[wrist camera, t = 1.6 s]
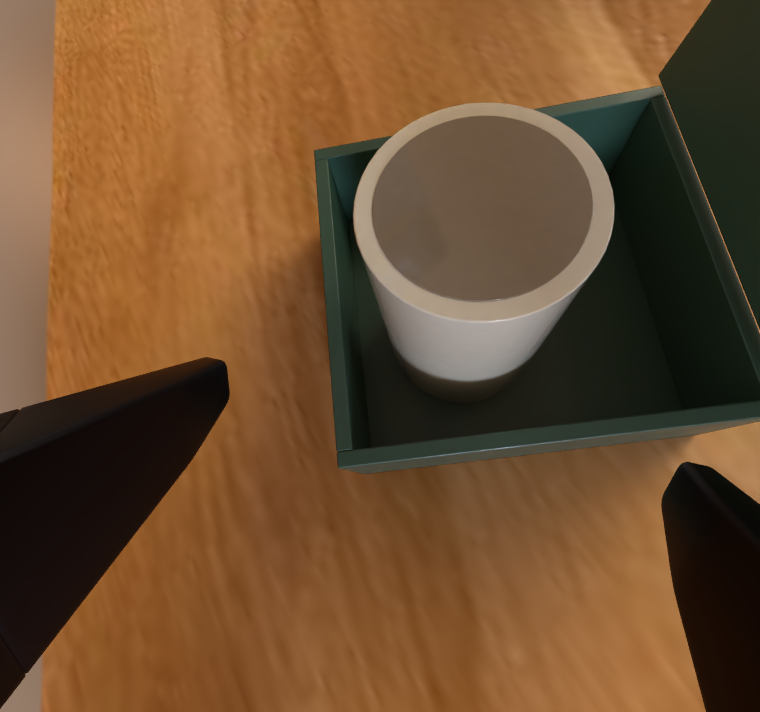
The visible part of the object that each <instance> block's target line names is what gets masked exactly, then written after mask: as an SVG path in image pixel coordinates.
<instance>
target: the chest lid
mask: <svg viewBox="0 0 760 712" xmlns="http://www.w3.org/2000/svg"><path fill="white" fill-rule="evenodd" d="M659 79H660V81H661V84H662V86H663V89H664V91H665V94H666V96H667V99H668V101H669V104H670V106H671V109H672V111H673V114H674V116H675V119H676V121H677V124H678V126H679V129H680V131H681V134H682V136H683V139H684V141H685V144H686V146H687V149H688V151H689V154H690V156H691V159H692V161H693V164H694V166H695V169H696V171H697V174H698V176H699V179H700V181H701V184H702V186H703V189H704V191H705V194H706V196H707V199H708V201H709V204H710V206H711V209H712V211H713V214H714V216H715V219H716V221H717V224H718V226H719V229H720V231H721V234H722V236H723V239H724V241H725V244H726V246H727V249H728V251H729V254H730V256H731V259H732V261H733V264H734V266H735V269H736V271H737V274H738V276H739V279H740V281H741V284H742V286H743V289H744V291H745V294H746V296H747V299H748V301H749V304H750V306H751V309H752V311H753V314H754V316H755V319H756V321H757V324H758V326H759V329H760V0H711V2H710V3H709V5H708V6H707V7H706V9H705V10H704V12H703V13H702V15H701V16H700V17H699V19H698V20H697V22H696V23H695V24H694V26H693V27H692V29H691V30H690V32H689V33H688V34H687V36H686V37H685V39H684V40H683V41H682V43H681V44H680V46H679V47H678V48H677V50H676V51H675V53H674V54H673V56H672V57H671V58H670V60H669V61H668V63H667V64H666V65H665V67H664V68H663V70H662V71H661V73H660V74H659Z"/></svg>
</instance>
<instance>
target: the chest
mask: <svg viewBox="0 0 760 712" xmlns="http://www.w3.org/2000/svg"><path fill="white" fill-rule="evenodd" d="M664 96H665V95H664V92H663V90H662V87H661V86H656V87H651V88H645V89H640V90H635V91H629V92H624V93H618V94H613V95H608V96H602V97H597V98H592V99H586V100H581V101H576V102H570V103H565V104H560V105H554V106H549V107H543V108H538V109H533V110H536V111H538V112H541V113H544V114H546V115H548V116H550V117H552V118H554V119H556V120H558V121H560V122H562V123H563V124H565V125H566V126H568V127H569V128H571V129H572V130H574V131H575V132H576V133H577V134H578V135H579V136H581V137H582V138H583V139H584V140H585V141H586V142H587V143H588V145H589V146H590V147H591V148H592V149H593V150H594V151H595V153H596V154H597V156H598V157H599V159H600V160H601V162H602V164H603V166H604V168H605V170H606V172H607V174H608V176H609V180H610V183H611V187H612V190H613V197H614V205H615V210H614V224H613V229H612V234H611V238H610V241H609V243H608V246H607V249H606V251H605V253H604V255H603V257H602V258H601V260H600V262H599V264H598V266H597V267H596V268H595V270H594V271H593V273H592V274H591V275H590V277H589V278H588V280H587V281H586V283H585V284H584V285H583V287H582V288H581V290H580V291H579V292H578V294H577V295H576V297H575V298H574V300H573V301H572V302H571V304H570V305H569V307H568V308H567V309H566V311H565V312H564V314H563V315H562V317H561V318H560V319H559V321H558V322H557V324H556V325H555V327H554V328H553V329H552V331H551V332H550V334H549V335H548V336H547V338H546V339H545V341H544V342H543V344H542V345H541V346H540V348H539V349H538V351H537V352H536V353H535V355H534V356H533V358H532V359H531V361H530V362H529V363H528V365H527V366H526V368H525V369H524V370H523V372H522V373H521V375H520V376H519V377H518V378H517V380H516V381H515V382H514V383H512V384H511V385H510V386H509V387H508V388H506V389H505V390H504V391H502V392H501V393H499V394H497V395H495V396H493V397H490V398H488V399H485V400H481V401H477V402H469V403H455V402H448V401H444V400H440V399H437V398H435V397H432V396H430V395H428V394H426V393H425V392H423V391H421V390H420V389H418V388H417V387H416V386H415V385H413V384H412V383H411V382H410V381H409V380H408V379H407V377H406V376H405V375H404V374H403V372H402V371H401V369H400V367H399V365H398V364H397V361H396V359H395V356H394V353H393V350H392V347H391V344H390V341H389V338H388V335H387V332H386V329H385V326H384V323H383V320H382V317H381V314H380V311H379V308H378V305H377V302H376V299H375V296H374V293H373V290H372V287H371V284H370V281H369V278H368V275H367V272H366V269H365V266H364V263H363V260H362V257H361V254H360V251H359V248H358V245H357V241H356V236H355V232H354V223H353V209H354V200H355V196H356V191H357V188H358V185H359V182H360V180H361V177H362V175H363V173H364V171H365V169H366V167H367V165H368V163H369V162H370V160H371V159H372V158H373V156H374V155H375V154H376V152H377V151H378V150H379V149H380V148H381V147H382V146H383V144H384V143H385V142H386V141H387V140H388V139H390V138H391V137H392V136H388V137H383V138H377V139H372V140H367V141H361V142H356V143H351V144H345V145H340V146H335V147H329V148H324V149H318V150H314V156H315V170H316V183H317V197H318V210H319V223H320V237H321V250H322V263H323V277H324V290H325V304H326V317H327V330H328V344H329V357H330V371H331V384H332V397H333V411H334V424H335V437H336V450H337V451H338V452H337V463H338V468H340V469H345V470H349V471H353V472H358V473H363V474H368V473H377V472H385V471H394V470H402V469H411V468H419V467H428V466H437V465H445V464H454V463H462V462H471V461H479V460H488V459H496V458H505V457H513V456H522V455H530V454H539V453H547V452H556V451H565V450H573V449H582V448H590V447H599V446H607V445H616V444H624V443H633V442H641V441H650V440H658V439H667V438H675V437H684V436H693V435H699V434H703V433H708V432H713V431H717V430H722V429H727V428H731V427H736V426H741V425H745V424H750V423H754V422H759V421H760V333H759V331H758V328H757V326H756V323H755V321H754V318H753V316H752V313H751V310H750V308H749V305H748V303H747V300H746V298H745V295H744V293H743V290H742V288H741V285H740V283H739V280H738V278H737V275H736V273H735V270H734V268H733V265H732V263H731V260H730V258H729V255H728V253H727V250H726V248H725V245H724V243H723V240H722V238H721V235H720V233H719V230H718V228H717V225H716V223H715V220H714V218H713V215H712V213H711V210H710V208H709V205H708V203H707V200H706V197H705V195H704V192H703V190H702V187H701V185H700V182H699V180H698V177H697V175H696V172H695V170H694V167H693V165H692V162H691V160H690V157H689V155H688V152H687V150H686V147H685V145H684V142H683V140H682V137H681V135H680V132H679V130H678V127H677V125H676V122H675V120H674V117H673V115H672V112H671V110H670V107H669V105H668V102H667V100H666V97H664Z"/></svg>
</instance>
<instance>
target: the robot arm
mask: <svg viewBox="0 0 760 712" xmlns="http://www.w3.org/2000/svg"><path fill="white" fill-rule="evenodd" d="M229 394H230V391H229V382H228V373H227V366H226V364H225V362H223V361H222V360H218V359H213V358H209V357H205V358H201V359H197V360H194V361H190V362H186V363H183V364H179V365H175V366H172V367H168V368H165V369H161V370H157V371H154V372H150V373H147V374H143V375H139V376H136V377H132V378H128V379H125V380H121V381H118V382H114V383H110V384H107V385H103V386H99V387H96V388H92V389H89V390H85V391H81V392H78V393H74V394H71V395H67V396H63V397H60V398H56V399H52V400H49V401H45V402H42V403H38V404H34V405H31V406H27V407H24V408H22V409H21V410H18V409H16V410H12V411H9V412H5V413H1V414H0V709H1V707H2V706H3V704H4V703H5V702H6V701H7V699H8V698H9V697H10V696H11V694H12V693H13V691H14V690H15V689H16V688H17V687H18V685H19V684H20V683H21V681H22V680H23V679H24V677H25V673H28V672H29V671H30V669H31V668H32V666H33V665H34V664H35V663H36V661H37V660H38V659H39V657H40V656H41V655H42V654H43V652H44V651H45V650H46V648H47V647H48V646H49V645H50V643H51V642H52V641H53V639H54V638H55V637H56V636H57V634H58V633H59V632H60V630H61V629H62V628H63V626H64V625H65V624H66V623H67V621H68V620H69V619H70V617H71V616H72V615H73V614H74V612H75V611H76V610H77V608H78V607H79V606H80V604H81V603H82V602H83V601H84V599H85V598H86V597H87V595H88V594H89V593H90V592H91V590H92V589H93V588H94V586H95V585H96V584H97V582H98V581H99V580H100V579H101V577H102V576H103V575H104V573H105V572H106V571H107V569H108V568H109V567H110V566H111V564H112V563H113V562H114V560H115V559H116V558H117V557H118V555H119V554H120V553H121V551H122V550H123V549H124V547H125V546H126V545H127V544H128V542H129V541H130V540H131V538H132V537H133V536H134V535H135V533H136V532H137V531H138V529H139V528H140V527H141V525H142V524H143V523H144V522H145V520H146V519H147V518H148V516H149V515H150V514H151V513H152V511H153V510H154V509H155V507H156V506H157V505H158V503H159V502H160V501H161V500H162V498H163V497H164V496H165V494H166V493H167V492H168V490H169V489H170V488H171V487H172V485H173V484H174V483H175V481H176V480H177V479H178V478H179V476H180V475H181V474H182V472H183V471H184V470H185V468H186V467H187V466H188V464H189V463H190V462H191V460H192V459H193V457H194V456H195V454H196V453H197V451H198V450H199V448H200V447H201V445H202V443H203V442H204V440H205V439H206V437H207V435H208V434H209V432H210V430H211V429H212V427H213V426H214V424H215V422H216V421H217V419H218V417H219V416H220V414H221V413H222V411H223V409H224V408H225V406H226V404H227V402H228V400H229ZM661 507H662V514H663V521H664V528H665V535H666V542H667V549H668V556H669V563H670V570H671V576H672V582H673V588H674V592H675V596H676V600H677V604H678V608H679V612H680V616H681V619H682V623H683V627H684V631H685V634H686V638H687V642H688V646H689V649H690V653H691V657H692V661H693V664H694V668H695V672H696V676H697V679H698V683H699V687H700V691H701V694H702V698H703V702H704V706H705V709H706V712H760V504H759V503H757V502H756V501H755V500H753V499H752V498H751V497H749V496H748V495H747V494H746V493H744V492H743V491H742V490H740V489H739V488H738V487H736V486H735V485H734V484H733V483H731V482H730V481H729V480H727V479H726V478H725V477H723V476H722V475H721V474H719V473H718V472H717V471H716V470H714V469H713V468H711V467H708V466H704V465H699V464H695V463H690V462H685V463H682V464H681V465H680V466H679V467H678V469H677V470H676V472H675V474H674V476H673V478H672V479H671V481H670V483H669V485H668V487H667V488H666V490H665V492H664V494H663V497H662V504H661Z"/></svg>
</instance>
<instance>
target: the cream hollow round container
mask: <svg viewBox="0 0 760 712" xmlns="http://www.w3.org/2000/svg"><path fill="white" fill-rule="evenodd" d="M614 210H615V205H614V197H613V190H612V187H611V183H610V180H609V176H608V174H607V172H606V170H605V168H604V166H603V164H602V162H601V160H600V159H599V157H598V156H597V154H596V153H595V151H594V150H593V149H592V148H591V147H590V146H589V145H588V143H587V142H586V141H585V140H584V139H583V138H582V137H581V136H579V135H578V134H577V133H576V132H575V131H574V130H572V129H571V128H569V127H568V126H566V125H565V124H563V123H562V122H560V121H558V120H556V119H554V118H552V117H550V116H548V115H546V114H544V113H541V112H538V111H536V110H533V109H530V108H526V107H522V106H518V105H512V104H506V103H487V102H483V103H469V104H463V105H457V106H452V107H448V108H445V109H441V110H438V111H435V112H433V113H430V114H428V115H425V116H423V117H421V118H419V119H417V120H415V121H413V122H411V123H410V124H408V125H407V126H405V127H404V128H402V129H401V130H399V131H398V132H397V133H396V134H394V135H393V136H392V137H391V138H390V139H388V140H387V141H386V142H385V143H384V144H383V146H382V147H381V148H380V149H379V150H378V151H377V152H376V154H375V155H374V156H373V158H372V159H371V160H370V162H369V163H368V165H367V167H366V169H365V171H364V173H363V175H362V177H361V180H360V182H359V185H358V188H357V191H356V196H355V200H354V209H353V223H354V232H355V236H356V241H357V245H358V248H359V251H360V254H361V257H362V260H363V263H364V266H365V269H366V272H367V275H368V278H369V281H370V284H371V287H372V290H373V293H374V296H375V299H376V302H377V305H378V308H379V311H380V314H381V317H382V320H383V323H384V326H385V329H386V332H387V335H388V338H389V341H390V344H391V347H392V350H393V353H394V356H395V359H396V361H397V364H398V365H399V367H400V369H401V371H402V372H403V374H404V375H405V376H406V377H407V379H408V380H409V381H410V382H411V383H412V384H413V385H415V386H416V387H417V388H418V389H420V390H421V391H423V392H425V393H426V394H428V395H430V396H432V397H435V398H437V399H440V400H444V401H448V402H455V403H469V402H477V401H481V400H485V399H488V398H490V397H493V396H495V395H497V394H499V393H501V392H502V391H504V390H505V389H506V388H508V387H509V386H510V385H511V384H512V383H514V382H515V381H516V380H517V378H518V377H519V376H520V375H521V373H522V372H523V370H524V369H525V368H526V366H527V365H528V363H529V362H530V361H531V359H532V358H533V356H534V355H535V353H536V352H537V351H538V349H539V348H540V346H541V345H542V344H543V342H544V341H545V339H546V338H547V336H548V335H549V334H550V332H551V331H552V329H553V328H554V327H555V325H556V324H557V322H558V321H559V319H560V318H561V317H562V315H563V314H564V312H565V311H566V309H567V308H568V307H569V305H570V304H571V302H572V301H573V300H574V298H575V297H576V295H577V294H578V292H579V291H580V290H581V288H582V287H583V285H584V284H585V283H586V281H587V280H588V278H589V277H590V275H591V274H592V273H593V271H594V270H595V268H596V267H597V266H598V264H599V262H600V260H601V258H602V257H603V255H604V253H605V251H606V249H607V246H608V243H609V241H610V238H611V234H612V229H613V224H614Z"/></svg>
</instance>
